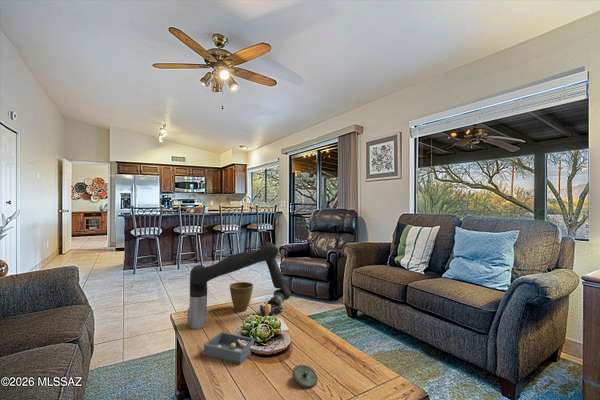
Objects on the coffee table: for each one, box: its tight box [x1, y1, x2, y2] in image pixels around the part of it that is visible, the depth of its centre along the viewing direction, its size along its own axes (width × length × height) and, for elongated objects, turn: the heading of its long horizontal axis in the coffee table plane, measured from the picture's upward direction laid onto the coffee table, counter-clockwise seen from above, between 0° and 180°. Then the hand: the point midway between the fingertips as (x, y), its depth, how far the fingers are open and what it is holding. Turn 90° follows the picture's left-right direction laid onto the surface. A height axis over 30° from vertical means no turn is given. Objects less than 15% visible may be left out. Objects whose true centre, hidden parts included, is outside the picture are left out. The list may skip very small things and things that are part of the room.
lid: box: [291, 364, 318, 389], centre depth 115 cm, size 11×10×5 cm
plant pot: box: [229, 281, 254, 313], centre depth 187 cm, size 15×15×16 cm
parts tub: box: [203, 331, 254, 365], centre depth 135 cm, size 19×14×5 cm
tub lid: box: [264, 303, 290, 333], centre depth 154 cm, size 20×15×14 cm
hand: (266, 315), depth 152 cm, fingers closed on tub lid, 3 cm apart
